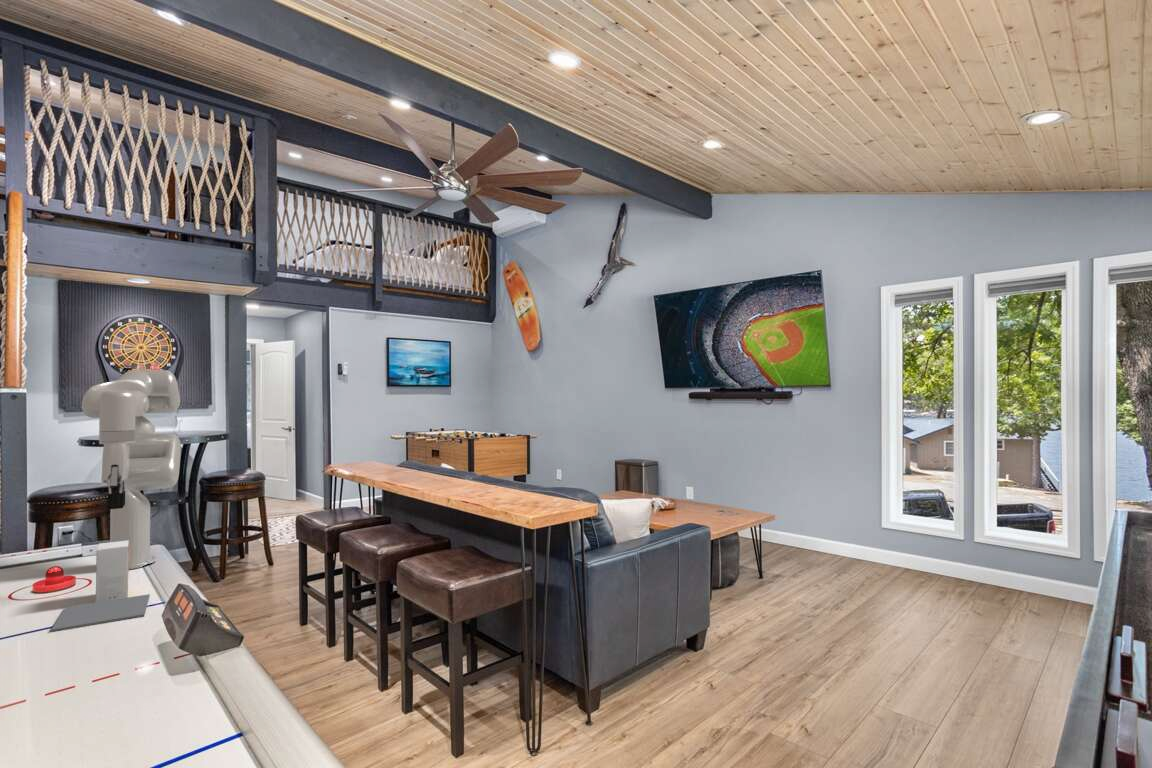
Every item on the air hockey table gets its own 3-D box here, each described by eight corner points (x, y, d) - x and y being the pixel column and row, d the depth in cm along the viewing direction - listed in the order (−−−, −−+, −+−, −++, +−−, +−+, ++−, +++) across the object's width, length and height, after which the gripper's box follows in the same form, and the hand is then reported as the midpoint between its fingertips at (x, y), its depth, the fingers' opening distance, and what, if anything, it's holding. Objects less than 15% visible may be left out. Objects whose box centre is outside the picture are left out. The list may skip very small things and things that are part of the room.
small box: (128, 598, 145) (128, 545, 145) (95, 604, 141) (95, 550, 141) (128, 589, 151) (129, 539, 152) (97, 594, 148) (97, 543, 148)
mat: (65, 609, 138) (66, 606, 138) (149, 596, 146) (149, 594, 146) (51, 631, 124) (51, 629, 124) (144, 616, 133) (144, 614, 133)
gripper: (103, 436, 159) (102, 504, 158) (94, 440, 145) (93, 514, 145) (138, 435, 163) (137, 501, 162) (132, 439, 149) (131, 511, 149)
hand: (116, 506), depth 153 cm, fingers open, 2 cm apart
